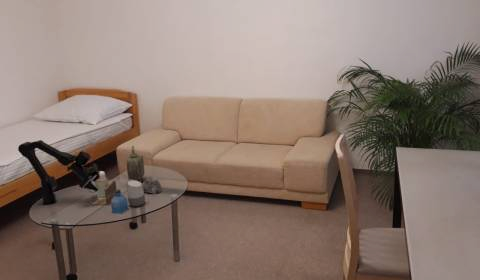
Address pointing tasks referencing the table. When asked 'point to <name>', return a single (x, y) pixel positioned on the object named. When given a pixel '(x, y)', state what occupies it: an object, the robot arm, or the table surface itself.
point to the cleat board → (107, 195)
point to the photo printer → (102, 175)
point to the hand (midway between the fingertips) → (100, 187)
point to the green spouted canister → (135, 166)
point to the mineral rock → (151, 186)
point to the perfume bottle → (119, 202)
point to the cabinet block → (101, 187)
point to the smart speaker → (135, 193)
